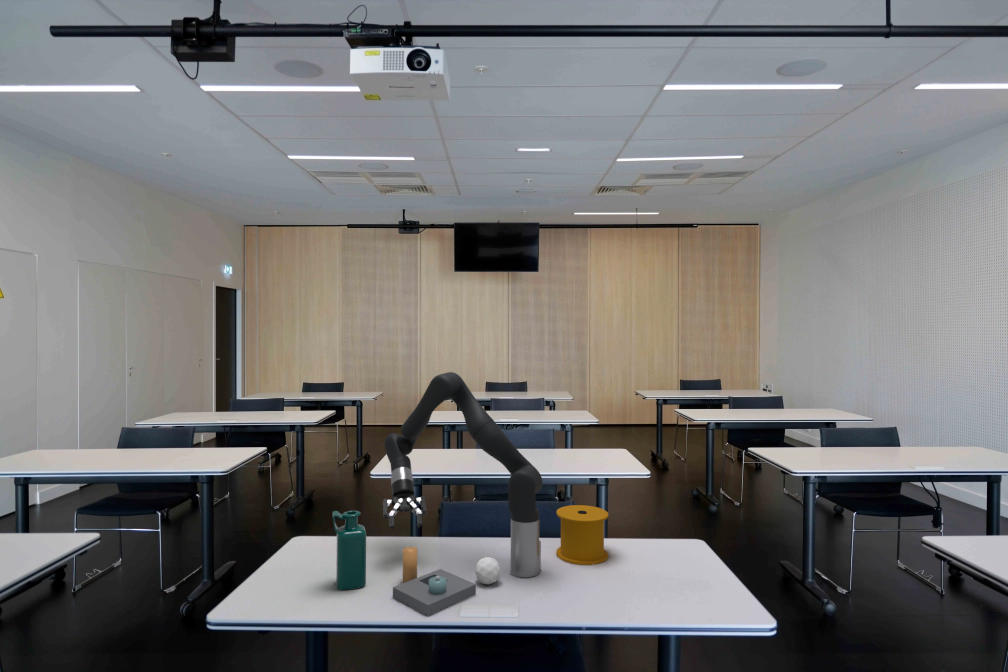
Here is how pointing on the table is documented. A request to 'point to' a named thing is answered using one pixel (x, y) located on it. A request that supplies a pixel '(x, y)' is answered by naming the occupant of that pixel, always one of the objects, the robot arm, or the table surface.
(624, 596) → the table surface
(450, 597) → the block
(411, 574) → the orange capsule
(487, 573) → the ball
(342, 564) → the pitcher
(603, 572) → the table surface
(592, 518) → the spool
